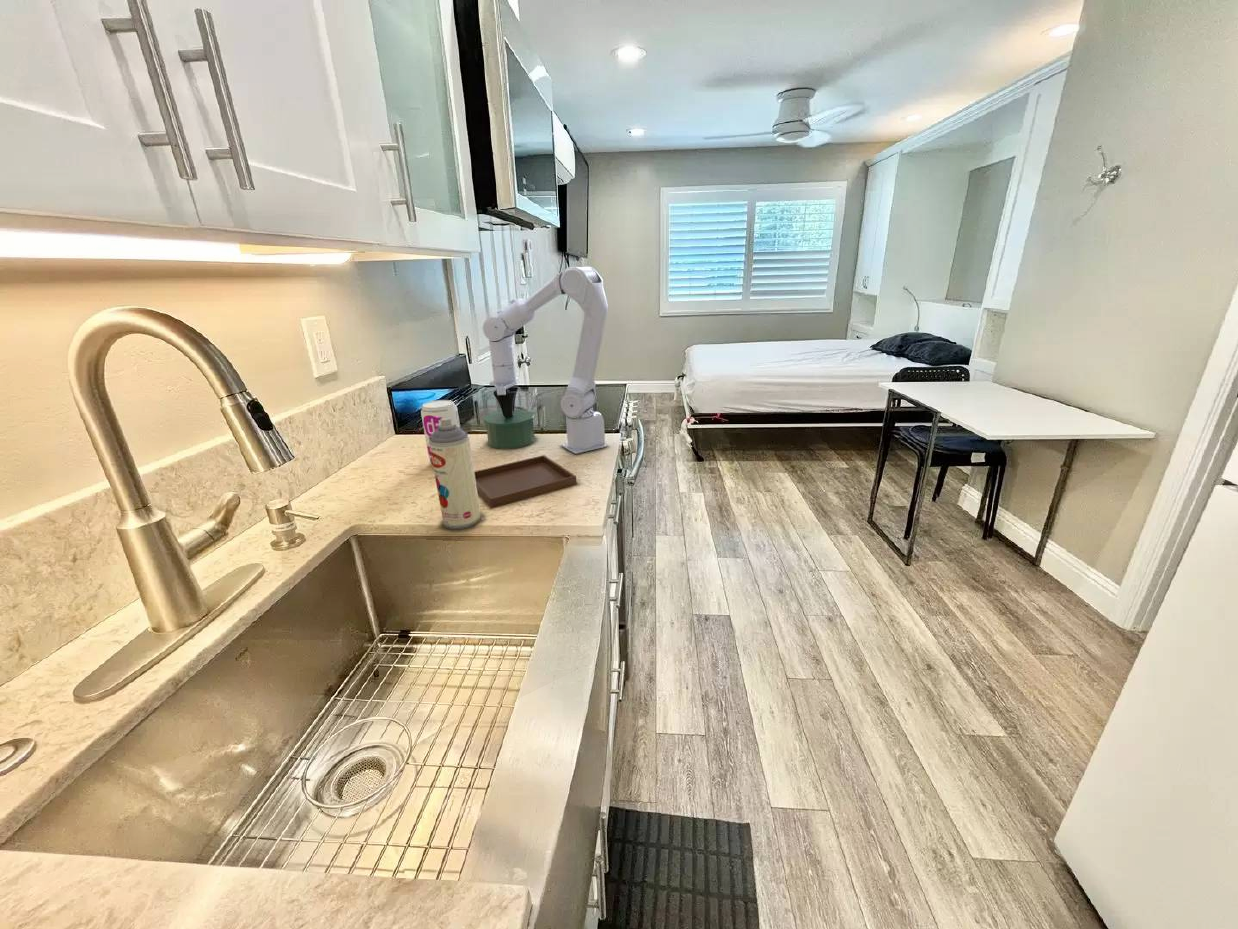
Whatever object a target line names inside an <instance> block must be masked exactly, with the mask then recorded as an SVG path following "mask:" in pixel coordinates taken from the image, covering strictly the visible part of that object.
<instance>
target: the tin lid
mask: <svg viewBox="0 0 1238 929" xmlns="http://www.w3.org/2000/svg"><path fill="white" fill-rule="evenodd" d="M532 419H533V420H534V419H535V413H534V412H533V411H531V410H526V409H514V414H512V417H504V416H503V413H502V410H499V411H494V412H491V413H489V414H486V415H485V416H484V417H483V422H484V423H485V424H486V423H487V424H490V425H496V426H509V425H517V424H522V423H526V422H528V421H531V420H532Z"/></svg>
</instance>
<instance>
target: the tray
mask: <svg viewBox="0 0 1238 929" xmlns="http://www.w3.org/2000/svg"><path fill="white" fill-rule="evenodd" d="M474 473H475V480H476V487H477V493H478V495H479V496H480V497H481V498H482V499H483V500H484V501H485V502H486V503H487V504H488V506H490V508H496V507H499V506H503V505H506V504H511V503H513V502H518V501H521V500H525V499H528V498H533V497H536V496H540V495H543V494H546V493H550V492H553V491H557V490H562V489H564V488H568V487H572V486H575V485H577V483H578V482H577V476H576V475H575V474H573V473H572V472H571V471H569V470H568V469H566V468H565V467H563V466H562V465H560V464H558V463H557V462H555V461H554V460H552V458H549V457H548V456H546V455H545V454H543V455H538V456H535V457H530V458H525V459H522V460H518V461H517V460H516V461H512V462H509V463H504V464H501V465H496V466H492V467H487V468H483V469H479V470H474Z"/></svg>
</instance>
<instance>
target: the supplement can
mask: <svg viewBox="0 0 1238 929" xmlns="http://www.w3.org/2000/svg"><path fill="white" fill-rule="evenodd" d="M458 411H459V410H458V406H457V405H456V403H454V401H453V400H451V399H450V400H449V399H439V400H438V399H437V400H432V401H428V402H425V403H423V404H422V408H421V410H420V415H421V421H422V427H423V431H424V432H423V433H424V437H425V443H426V449H427V453H428V460H429V464H430V465H431V466H433V463H432V458H431V452H430V447H429V441H430V440H429V437H430V436H431V435H432V434H433V433H434V431H435V430H436V429H438V427H439V426H440V425H441V419H442V418H446V417H449V418H451V421H452V423H454V424H455V425H456V426H457V427H460V428H461V424H460V417H459V412H458Z"/></svg>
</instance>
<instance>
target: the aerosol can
mask: <svg viewBox="0 0 1238 929" xmlns="http://www.w3.org/2000/svg"><path fill="white" fill-rule="evenodd" d="M429 440H430V441H429V447H430V452H431V458H432V463H433V465H432V468H433V474H434V480H435V485H436V490H437V496H438V502H439V507H440V512H441V518H442V521H443V522H442V524H443V526H444V527H445V528H447V529H449V530H465V529H469V528H471V527H474V526H476V525H477V524H479V522H480V521H481V519H482V515H481V507H480V501H479V493H478V492H477V487H476V480H475V473H474V471H475V467H474V461H473V455H472V448H471V439H470V437H469V433H468V431H466V430H463V429H462V428H461V426H460V427H457V426H456V425H455V424H454V423H452V421H451V418H449V417H446V418H442V419H441V425H440V426H439V427H438V429H436V430H435V431H434V433H433V434H432V435H431V436H430V437H429Z"/></svg>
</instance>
